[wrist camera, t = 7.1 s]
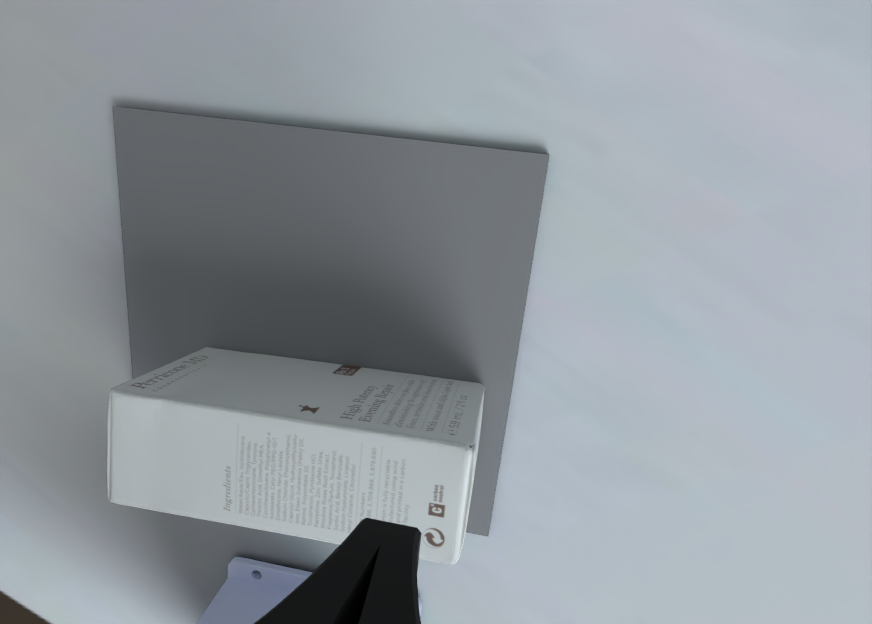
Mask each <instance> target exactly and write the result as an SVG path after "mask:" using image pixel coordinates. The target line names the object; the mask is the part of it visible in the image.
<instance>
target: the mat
mask: <svg viewBox="0 0 872 624" xmlns="http://www.w3.org/2000/svg"><path fill="white" fill-rule="evenodd" d="M113 118H114V131H115V145H116V158H117V172H118V185H119V199H120V212H121V226H122V240H123V253H124V267H125V280H126V294H127V307H128V321H129V334H130V348H131V362H132V375H133V379H135V378H137V377H140V376H142V375H144V374H146V373H149V372H151V371H153V370H156V369H158V368H160V367H163V366H165V365H167V364H169V363H172V362H174V361H176V360H178V359H181V358H183V357H185V356H188V355H190V354H192V353H194V352H197V351H199V350H201V349H203V348H205V347H210V348H217V349H224V350H231V351H238V352H246V353H256V354H265V355H273V356H281V357H288V358H296V359H304V360H311V361H319V362H327V363H334V364H342V365H350V366H356V367H363V368H371V369H379V370H386V371H393V372H402V373H409V374H416V375H424V376H431V377H439V378H445V379H453V380H460V381H467V382H475V383H480V384H482V385H483V386H484V387H485V390H484V400H483V412H482V422H481V431H480V439H479V447H478V454H477V462H476V469H475V475H474V482H473V489H472V495H471V502H470V508H469V515H468V521H467V527H466V532H468V533H473V534H478V535H483V536H488V535H489V528H490V522H491V516H492V510H493V503H494V497H495V491H496V485H497V479H498V472H499V466H500V460H501V454H502V447H503V441H504V435H505V429H506V422H507V416H508V410H509V404H510V397H511V391H512V385H513V379H514V373H515V366H516V360H517V354H518V348H519V341H520V335H521V329H522V323H523V316H524V310H525V304H526V298H527V291H528V285H529V279H530V273H531V267H532V260H533V254H534V248H535V242H536V235H537V229H538V223H539V217H540V210H541V204H542V198H543V192H544V185H545V179H546V173H547V167H548V161H549V154H540V153H531V152H522V151H513V150H504V149H495V148H486V147H477V146H468V145H459V144H450V143H441V142H432V141H423V140H414V139H404V138H395V137H386V136H377V135H368V134H359V133H350V132H341V131H332V130H323V129H314V128H305V127H296V126H287V125H278V124H269V123H260V122H251V121H242V120H233V119H224V118H215V117H206V116H197V115H188V114H179V113H170V112H161V111H152V110H143V109H134V108H125V107H115V106H113Z"/></svg>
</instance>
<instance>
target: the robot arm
mask: <svg viewBox="0 0 872 624" xmlns="http://www.w3.org/2000/svg"><path fill="white" fill-rule="evenodd" d="M421 534H422V533H421V532H420V530H419V529H418V528H416V527H411V526H406V525H401V524H396V523H391V522H386V521H381V520H376V519H371V518H365V519H363V520H361V521H360V523H359V524H358V525H357V526H356V527H355V529H354V530H353V531H352V532H351V533H350V534H349V536H348V537H347V538H346V539H345V540H344V541H343V542H342V543H341V544H340V545H339V547H338V548H337V549H336V550H335V551H334V552H333V553H332V554H331V555H330V556H329V557H328V558H327V559H326V560H325V561H324V562H323V563H322V564H321V565H320V566H319V567H318V568H317V569H316V570H315V571H314V572H313V573H312V572H308V571H303V570H298V569H294V568H289V567H284V566H280V565H275V564H270V563H266V562H261V561H256V560H252V559H247V558H242V557H235V558H233V559H232V560H231V562H230V563H229V564H228V579H227V580H226V581H225V583H224V584H223V586H222V587H221V588H220V590H219V591H218V593H217V594H216V596H215V597H214V599H213V600H212V601H211V603H210V604H209V606H208V607H207V609H206V610H205V612H204V613H203V614H202V616H201V617H200V619H199V620H198V622H197V623H196V624H421V621H420V618H421V610H422V601H421V599H420V598H419V597H418V589H417V568H418V560H419V551H420V542H421ZM256 570H257V571H259V572H260V573H258V572H257V571H256Z"/></svg>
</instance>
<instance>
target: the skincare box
mask: <svg viewBox="0 0 872 624" xmlns="http://www.w3.org/2000/svg"><path fill="white" fill-rule="evenodd" d="M484 390H485V387H484V386H483V385H482V384H480V383H475V382H467V381H460V380H453V379H445V378H439V377H431V376H424V375H416V374H409V373H402V372H393V371H386V370H379V369H371V368H363V367H356V366H350V365H342V364H334V363H327V362H319V361H311V360H304V359H296V358H288V357H281V356H273V355H265V354H256V353H246V352H238V351H231V350H224V349H217V348H210V347H205V348H203V349H201V350H199V351H197V352H194V353H192V354H190V355H188V356H185V357H183V358H181V359H178V360H176V361H174V362H172V363H169V364H167V365H165V366H163V367H160V368H158V369H156V370H153V371H151V372H149V373H146V374H144V375H142V376H140V377H137V378H135V379H133V380H130V381H128V382H125V383H123V384H121V385H118V386H116V387H114V388H112V389H111V390H110V393H109V408H108V453H107V458H108V459H107V487H108V499H109V500H110V501H111V502H112V503H116V504H120V505H126V506H132V507H137V508H142V509H148V510H153V511H159V512H164V513H169V514H175V515H181V516H187V517H192V518H197V519H203V520H208V521H214V522H220V523H225V524H231V525H237V526H242V527H247V528H253V529H258V530H263V531H269V532H275V533H281V534H286V535H291V536H297V537H302V538H307V539H313V540H318V541H324V542H329V543H334V544H341V543H342V542H343V541H344V540H345V539H346V538H347V537H348V536H349V534H350V533H351V532H352V531H353V530H354V529H355V527H356V526H357V525H358V524H359V523H360V521H361V520H363V519H365V518H371V519H376V520H381V521H386V522H391V523H396V524H401V525H406V526H411V527H416V528H418V529H419V530H420V532H421V533H422V534H421V542H420V551H419V559H423V560H428V561H433V562H438V563H444V564H455V563H457V561H458V559H459V557H460V554H461V551H462V547H463V543H464V539H465V534H466V527H467V521H468V515H469V508H470V502H471V495H472V489H473V482H474V475H475V469H476V462H477V454H478V447H479V439H480V431H481V422H482V412H483V400H484Z"/></svg>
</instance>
